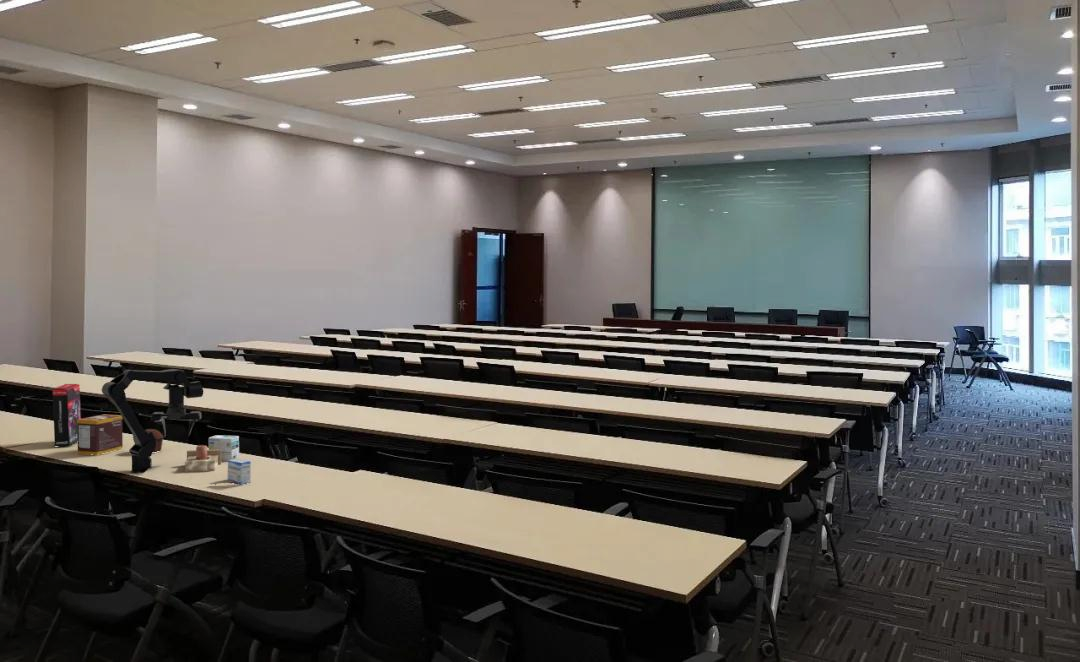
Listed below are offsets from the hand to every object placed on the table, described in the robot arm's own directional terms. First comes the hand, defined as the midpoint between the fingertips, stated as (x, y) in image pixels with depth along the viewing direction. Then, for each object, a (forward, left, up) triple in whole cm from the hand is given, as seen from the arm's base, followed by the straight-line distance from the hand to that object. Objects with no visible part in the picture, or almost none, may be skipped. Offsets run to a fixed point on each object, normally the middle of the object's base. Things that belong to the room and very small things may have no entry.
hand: (176, 436), depth 334 cm
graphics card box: (-56, +55, -12) cm, 79 cm away
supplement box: (-37, +34, -12) cm, 52 cm away
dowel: (+11, -13, -11) cm, 20 cm away
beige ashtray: (+11, -13, -11) cm, 20 cm away
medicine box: (+28, -36, -12) cm, 47 cm away
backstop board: (+11, -15, -12) cm, 22 cm away
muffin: (-16, +30, -12) cm, 36 cm away
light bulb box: (+18, +4, -12) cm, 22 cm away
